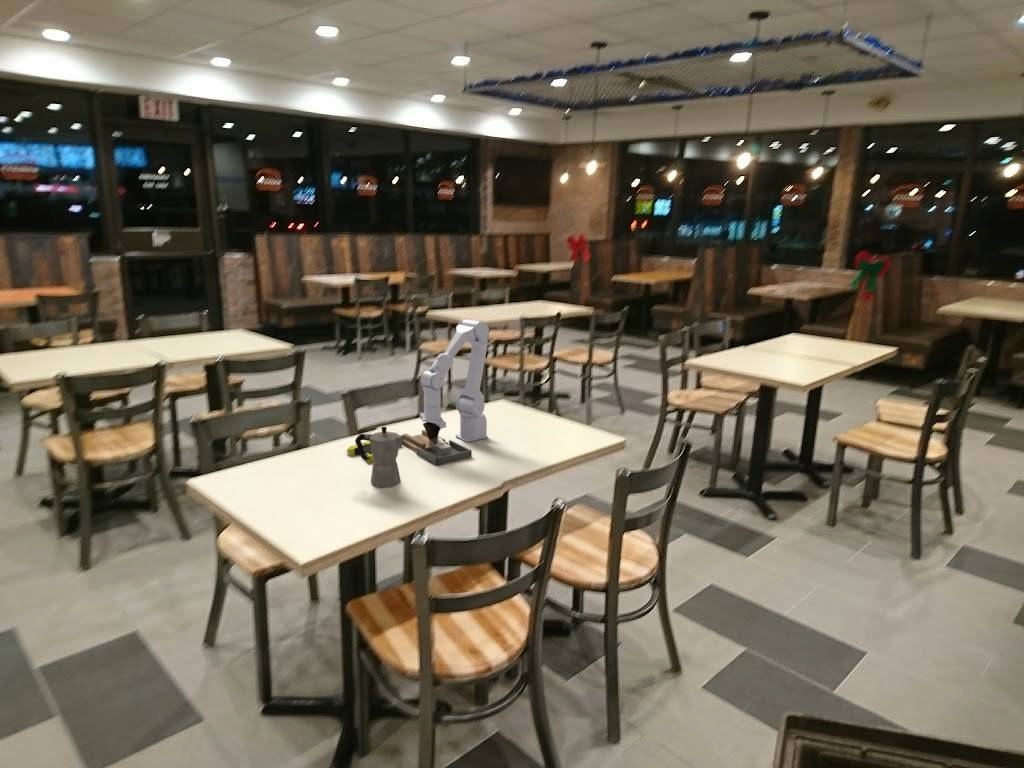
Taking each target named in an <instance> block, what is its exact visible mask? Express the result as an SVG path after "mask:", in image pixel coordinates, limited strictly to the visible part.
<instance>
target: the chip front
mask: <svg viewBox="0 0 1024 768" xmlns="http://www.w3.org/2000/svg"><path fill="white" fill-rule="evenodd" d="M435 447H436V454H437V455H439V456H440V457H442V456H446V455H451V454H452V447H451V446H449V444H448V445H447V444H446V443H445V444H441V445H436V446H435Z"/></svg>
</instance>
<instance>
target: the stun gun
mask: <svg viewBox="0 0 1024 768" xmlns="http://www.w3.org/2000/svg"><path fill="white" fill-rule="evenodd" d="M362 445H363V449H364V451H365V456H366V457H369V460H365V461H366V462H367V463H368V464H370V463H371V464H372V463H374V458H373V455H372V450H371V445H370V441H364V442H362ZM402 446H403V444H401V446H400V447H399V448H401V447H402ZM346 452H347V455H348V456H358V455H360V452H359V450H358V447H357V445H356V444H355V445H349V447H348V448H347V449H346Z"/></svg>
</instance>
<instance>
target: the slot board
mask: <svg viewBox="0 0 1024 768" xmlns="http://www.w3.org/2000/svg"><path fill="white" fill-rule="evenodd" d="M402 436H405V437H406V439H405V440H404V441H403V442H402V446H405V447H406V448H408V449H410V450H412V451H413V452H415V453H416V448H417V447H419V448H420V449H422V450H424V451H428V450H431V449H430V448H429V439H428V435H427V432H426V429H422V430H421V434H416V435H413V436H412V435H409V434H408V433H402ZM438 438H441V439H442V440H443V441H444V442H445V443H446V444H447V445H449V442H446V439H445V438H443V437H441V436H439V435H438Z"/></svg>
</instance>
